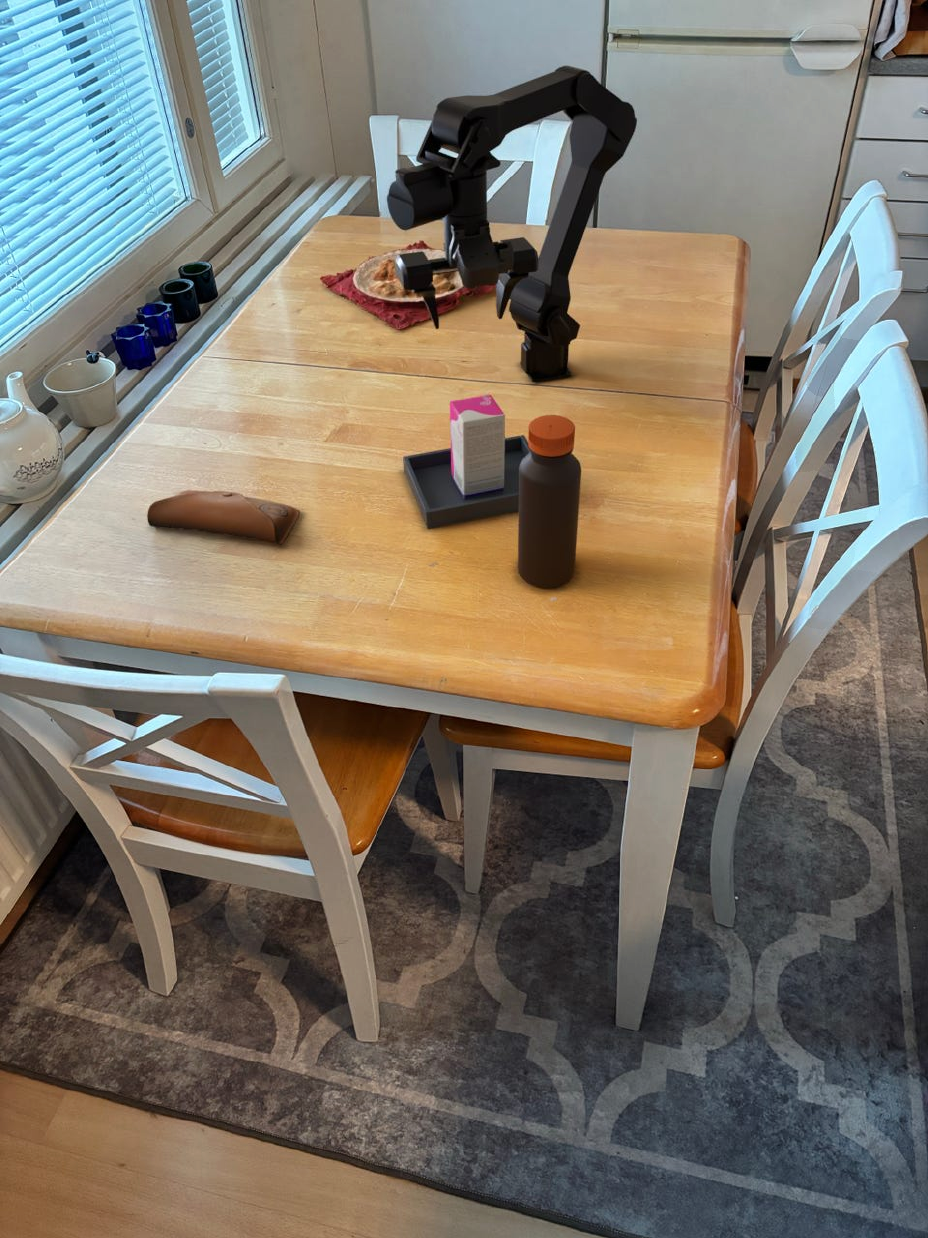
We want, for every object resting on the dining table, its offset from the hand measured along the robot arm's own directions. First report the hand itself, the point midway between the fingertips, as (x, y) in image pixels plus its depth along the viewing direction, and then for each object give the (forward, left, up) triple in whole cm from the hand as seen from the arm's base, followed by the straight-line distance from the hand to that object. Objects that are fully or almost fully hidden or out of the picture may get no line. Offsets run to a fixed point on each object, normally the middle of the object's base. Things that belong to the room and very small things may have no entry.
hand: (468, 322), depth 133 cm
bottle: (+2, +40, -13) cm, 42 cm away
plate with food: (-1, -43, -13) cm, 45 cm away
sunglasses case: (+38, +18, -13) cm, 44 cm away
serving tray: (+5, +21, -13) cm, 25 cm away
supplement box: (+5, +21, -13) cm, 25 cm away
